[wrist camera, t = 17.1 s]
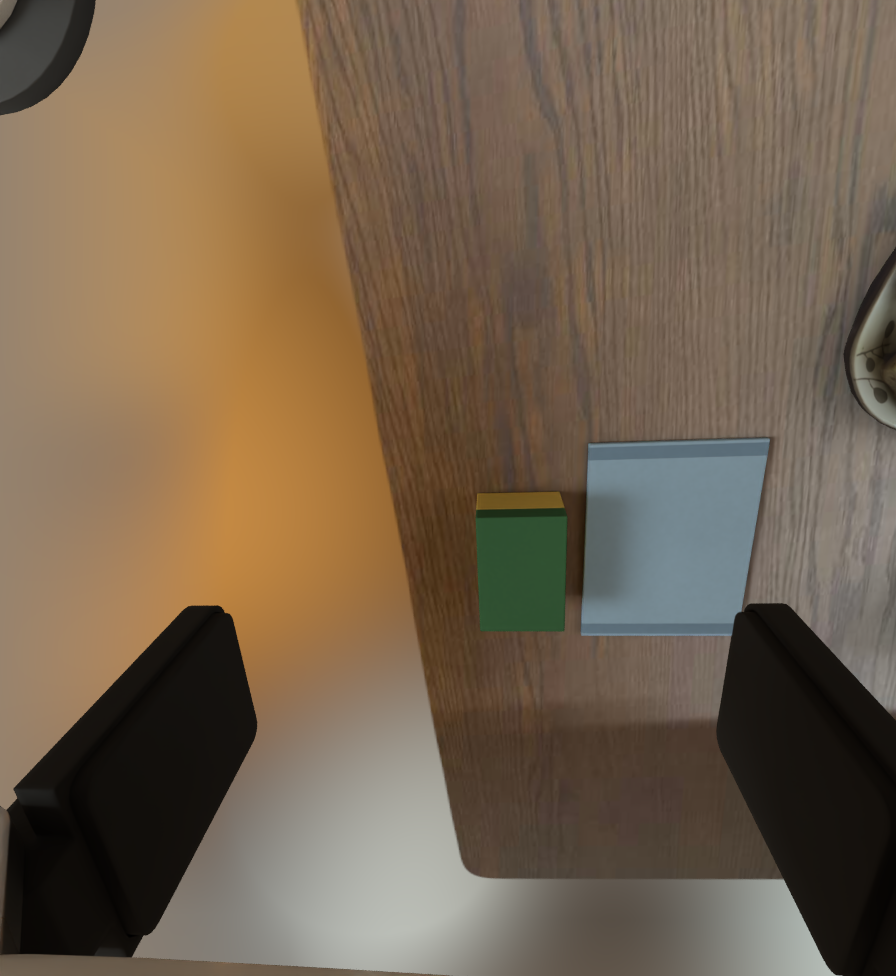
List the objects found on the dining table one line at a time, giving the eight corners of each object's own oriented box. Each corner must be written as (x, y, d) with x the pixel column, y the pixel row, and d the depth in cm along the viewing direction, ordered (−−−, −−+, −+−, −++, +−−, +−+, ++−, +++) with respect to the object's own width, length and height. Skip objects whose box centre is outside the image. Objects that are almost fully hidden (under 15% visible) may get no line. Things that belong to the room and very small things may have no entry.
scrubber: (557, 597, 42) (564, 631, 37) (481, 597, 42) (480, 631, 38) (559, 491, 38) (567, 516, 34) (477, 493, 39) (475, 518, 35)
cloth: (580, 632, 43) (581, 635, 42) (588, 442, 37) (589, 444, 37) (735, 632, 42) (737, 636, 41) (767, 437, 36) (770, 438, 35)
